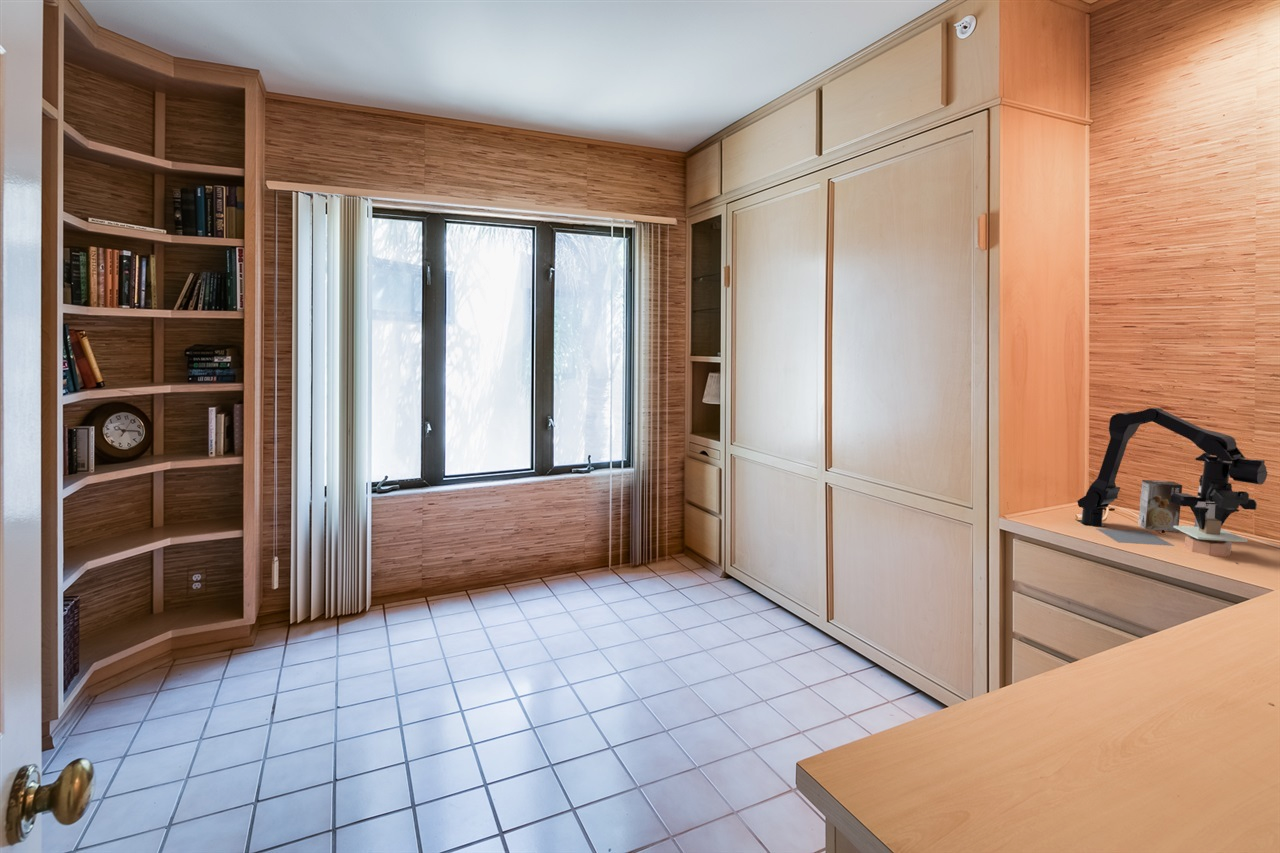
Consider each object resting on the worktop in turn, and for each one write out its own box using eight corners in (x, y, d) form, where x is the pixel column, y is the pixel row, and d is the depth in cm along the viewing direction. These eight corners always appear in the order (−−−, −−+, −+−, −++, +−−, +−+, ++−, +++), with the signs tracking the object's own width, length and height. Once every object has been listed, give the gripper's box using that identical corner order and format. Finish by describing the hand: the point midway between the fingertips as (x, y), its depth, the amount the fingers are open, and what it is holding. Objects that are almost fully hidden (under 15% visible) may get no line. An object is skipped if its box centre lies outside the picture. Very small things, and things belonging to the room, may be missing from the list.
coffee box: (1170, 528, 213) (1175, 481, 210) (1178, 533, 207) (1183, 485, 205) (1137, 525, 216) (1141, 479, 214) (1144, 530, 210) (1149, 483, 208)
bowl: (1178, 546, 193) (1180, 533, 193) (1215, 548, 191) (1216, 535, 191) (1198, 556, 184) (1199, 543, 184) (1236, 558, 182) (1238, 545, 182)
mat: (1095, 529, 211) (1095, 528, 210) (1147, 532, 207) (1147, 531, 207) (1118, 543, 196) (1118, 542, 196) (1174, 547, 193) (1174, 545, 193)
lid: (1173, 527, 194) (1175, 512, 194) (1219, 529, 191) (1221, 515, 191) (1197, 539, 183) (1199, 523, 182) (1247, 542, 180) (1249, 526, 179)
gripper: (1195, 482, 179) (1189, 535, 181) (1274, 485, 175) (1267, 540, 177) (1172, 474, 190) (1166, 524, 192) (1246, 477, 186) (1239, 528, 188)
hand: (1209, 529), depth 187 cm, fingers closed on lid, 3 cm apart
